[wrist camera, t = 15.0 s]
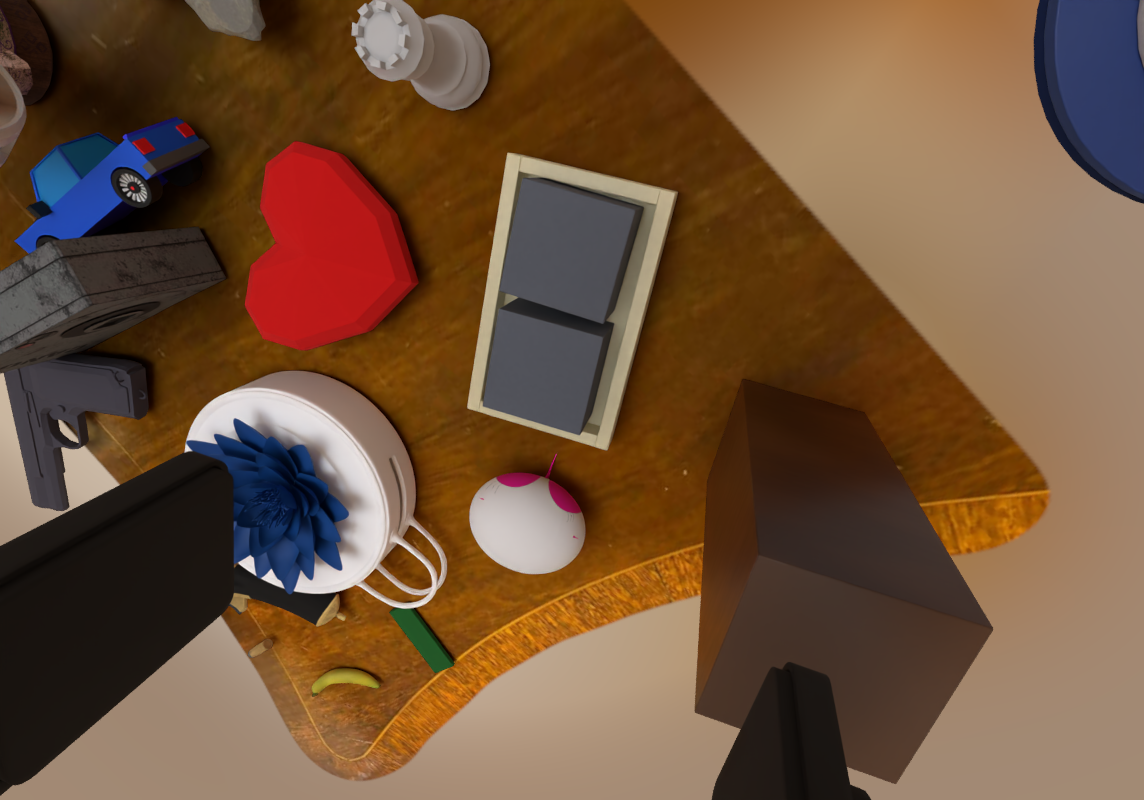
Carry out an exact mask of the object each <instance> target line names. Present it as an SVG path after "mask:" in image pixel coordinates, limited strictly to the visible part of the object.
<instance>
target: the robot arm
mask: <svg viewBox="0 0 1144 800" xmlns="http://www.w3.org/2000/svg"><path fill="white" fill-rule="evenodd" d="M1137 29H1138V49H1139V53H1140V56H1141V60H1142V64H1143V67H1144V0H1140V3H1139V9H1138V15H1137ZM233 595H234V503H233V477H232V475H231V474H230V473H229V472H228V467H227V465H226V464H225V463H224V462H222V461H220V460H218V459H215V458H212V457H209V456H206V455H203V454H201V453H198V452H195V451H188V452H185V453H182V454H180V455H178V456H176V457H174V458H172V459H170V460H168V461H166V462H164V463H162V464H160V465H159V466H157V467H155V468H153V469H151V470H149V471H147V472H145V473H143V474H141V475H139V476H137V477H135V478H133V479H131V480H129V481H127V482H125V483H123V484H121V485H119V486H117V487H115V488H114V489H111V490H110V491H108V492H106V493H104V494H102V495H100V496H98V497H96V498H94V499H92V500H90V501H88V502H86V503H84V504H82V505H80V506H78V507H76V508H74V509H72V510H70V511H68V512H66V513H65V514H62V515H60V516H59V517H57V518H55V519H53V520H51V521H49V522H47V523H45V524H43V525H41V526H39V527H37V528H35V529H33V530H31V531H29V532H27V533H25V534H23V535H21V536H19V537H17V538H16V539H13V540H12V541H9V542H8V543H6V544H4V545H2V546H0V795H2V794H3V793H4V792H5V791H7V790H8V789H9V788H10V787H11V786H12V785H19V784H22V783H24V782H26V781H28V780H29V779H31V778H32V777H33V776H35V775H36V774H37V773H38V772H39V771H41V770H42V769H43V768H44V767H45V766H46V765H48V764H49V763H50V762H51V761H52V760H53V759H55V758H56V757H57V756H58V755H59V754H60V753H62V752H63V751H64V750H65V749H66V748H67V747H68V746H69V745H71V744H72V743H73V742H74V741H75V740H77V739H78V738H79V737H80V736H81V735H82V734H83V733H85V732H86V731H87V730H88V729H89V728H90V727H92V726H93V725H94V724H95V723H96V722H97V721H99V720H100V719H101V718H102V717H103V716H104V715H106V714H107V713H108V712H109V711H110V710H111V709H112V708H113V707H115V706H116V705H117V704H118V703H119V702H120V701H122V700H123V699H124V698H125V697H126V696H128V695H129V694H130V693H131V692H132V691H133V690H134V689H136V688H137V687H138V686H139V685H140V684H141V683H143V682H144V681H145V680H146V679H147V678H148V677H149V676H151V675H152V674H153V673H154V672H155V671H156V670H157V669H159V668H160V667H161V666H162V665H163V664H165V663H166V662H167V661H168V660H169V659H170V658H172V656H174V655H175V654H176V653H177V652H179V651H180V650H181V649H182V648H183V647H184V646H185V645H186V644H188V643H189V642H190V641H191V640H192V639H194V638H195V637H196V636H197V635H198V634H199V633H201V632H202V631H203V630H204V629H205V628H206V627H207V626H208V625H210V624H211V623H212V622H213V621H214V620H216V619H217V618H218V617H219V616H220V615H221V614H222V613H223V612H224V611H225V610H226V609H227V608H228V606H229V605H230V603H231V601H232V598H233ZM712 800H871V799H870V797H869V796H868V794H867V793H866V791H864V790H862V789H860V788H857V787H855V786H852V785H850V782H849V777H848V771H847V766H846V760H845V755H844V750H843V745H842V739H841V734H840V729H839V724H838V718H837V713H836V708H835V702H834V697H833V692H832V687H831V682H830V679H829V677H828V676H827V675H826V674H823V673H820V672H817V671H814V670H812V669H809V668H806V667H803V666H800V665H798V664H795V663H792V662H787V663H786V664H785V665H784V667H783V668H782V669H779V668H776V667H772V668H770V670H769V672H768V673H767V675H766V678H765V680H764V682H763V684H762V686H761V688H760V690H759V692H758V694H757V696H756V699H755V701H754V703H753V705H752V707H751V709H750V711H749V713H748V715H747V717H746V719H745V722H744V724H743V726H742V728H741V730H740V732H739V734H738V736H737V738H736V740H735V743H734V745H733V747H732V749H731V751H730V753H729V755H728V757H727V759H726V761H725V763H724V766H723V768H722V770H721V772H720V774H719V776H718V778H717V781H716V783H715V787H714V790H713V796H712Z"/></svg>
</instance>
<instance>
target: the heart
mask: <svg viewBox="0 0 1144 800" xmlns="http://www.w3.org/2000/svg"><path fill="white" fill-rule="evenodd" d="M260 209H261V211H262V213H263V215H264V218H265V220H266V222H267V224H268V226H269V229H270V231H271V233H272V235H273V238H274V240H275V242H276V243H275V244H274V245H273V246H272V247H271V248H270V249H269V250H268V251H266V252H265V253H264V254H263V255H262V256H261V257H260V258H259V259H258V260H257V261H256V262H254V263H253V264H252V265H251V269H250V275H249V282H248V288H247V294H246V301H245V307H246V309H247V311H248V313H249V314H250V316H251V318H252V320H253V321H254V323H255V325H256V327H257V329H258V330H259V332H260V334H261V336H262V338H263V339H265V340H269V341H272V342H275V343H279V344H282V345H285V346H289V347H292V348H295V349H299V350H310V349H313V348H317V347H320V346H323V345H327V344H330V343H333V342H336V341H340V340H343V339H346V338H349V337H353V336H356V335H359V334H362V333H366V332H369V331H372V330H373V329H374V328H375V327H376V326H377V325H378V324H379V323H380V322H381V321H382V320H383V319H384V318H385V317H386V316H387V315H388V314H389V313H390V312H391V311H392V310H393V309H394V307H395V306H396V305H397V304H398V303H399V302H400V301H401V300H402V299H403V298H404V297H405V296H406V295H407V294H408V293H409V292H410V291H411V290H412V289H413V288H414V287H415V286H416V285H417V284H418V283H419V281H418V278H417V275H416V272H415V268H414V265H413V262H412V259H411V256H410V253H409V249H408V246H407V243H406V240H405V237H404V234H403V230H402V227H401V224H400V221H399V218H398V214H397V213H396V212H395V211H394V210H393V209H392V208H391V207H390V205H389V204H388V203H387V202H386V201H385V200H384V199H383V198H382V196H381V195H380V194H379V193H378V192H377V191H376V190H375V189H374V187H373V186H372V185H371V184H370V183H369V182H368V181H367V180H366V178H365V177H364V176H363V175H362V174H361V173H360V172H359V171H358V169H357V168H356V167H355V166H354V165H353V164H352V163H351V162H350V161H349V159H348V158H347V157H346V156H345V155H343V154H341V153H337V152H334V151H330V150H327V149H324V148H320V147H317V146H313V145H310V144H306V143H303V142H299V141H295V142H293V143H292V144H291V145H289V146H288V147H287V148H286V149H284V150H283V151H282V152H281V153H279V154H278V155H277V156H276V157H274V158H273V159H272V160H271V161H269V162H268V163H267V164H266V169H265V176H264V183H263V190H262V197H261V203H260Z"/></svg>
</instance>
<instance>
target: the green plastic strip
mask: <svg viewBox="0 0 1144 800" xmlns="http://www.w3.org/2000/svg"><path fill="white" fill-rule="evenodd" d="M407 603H409V602H407ZM389 613H390V614H391V615H392V617H393V618H394V619H395V621H396V622H397V623H398V625H399V626H400V627H401V629H402V630H403V631H404V633H405V634H406V635H407V637H408V638H409V639H410V641H411V642H412V643H413V645H414V646H415V647H416V649H417V650H418V651H419V652H420V654H421V655H422V656H423V658H424V659H425V660H426V662H427V663H428V664H429V666H430V667H431V668H432V670H433V671H434V672H435V673H437V672H439V671H442V670H445V669H447V668H450V667H452V666H454V664H455V663H454V662H453V660H452V659H451V658H450V656H449V655H448V654H447V652H446V651H445V650H444V648H443V647H442V646H441V644H440V643H439V641H438V640H437V639H436V637H435V636H434V635H433V633H432V632H431V631H430V629H429V628H428V627H427V625H426V624H425V623H424V621H423V620H422V619H421V617H420V616H419V615H418V613H417V612H416V611H415V609H414V608H409V609H403V608H394V609H392V610H391V611H390V612H389Z"/></svg>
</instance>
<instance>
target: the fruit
mask: <svg viewBox="0 0 1144 800" xmlns="http://www.w3.org/2000/svg"><path fill="white" fill-rule="evenodd" d="M334 683H355V684H360V685H365V686H369V687H373V688H380V686H381V685H380V684H379V683H378V682H377V680H376V679H374V678H373V677H372V676H371V675H369V674H368V673H366V672H363V671H361V670H357V669H350V668H341V669H334V670H331V671H329V672H327V673H325V674H324V675H323V676H321V677H320V678H319V679H318V680H317V681H316V682H315V683H314V684H313V686H312V691H313V695H312V697H314V696H317V695H318V692H321V691H322V690H324V688H325V687H326V686H328V685H330V684H334Z"/></svg>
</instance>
